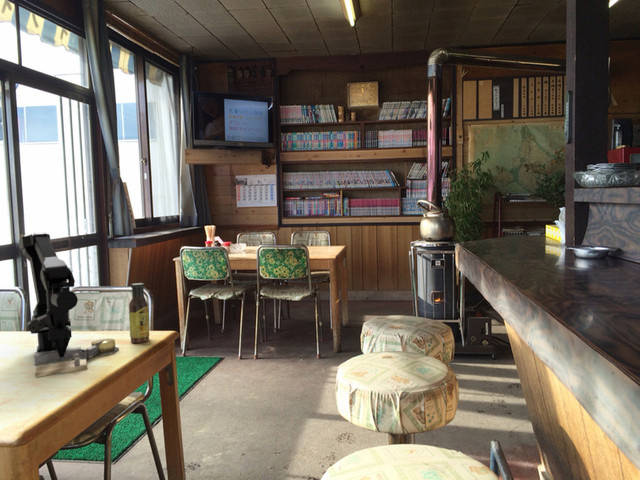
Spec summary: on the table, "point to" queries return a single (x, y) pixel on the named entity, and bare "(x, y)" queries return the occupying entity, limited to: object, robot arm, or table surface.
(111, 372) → the table surface
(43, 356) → the grey bar
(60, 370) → the cradle
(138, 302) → the sauce bottle
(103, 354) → the nut base
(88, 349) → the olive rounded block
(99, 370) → the table surface
